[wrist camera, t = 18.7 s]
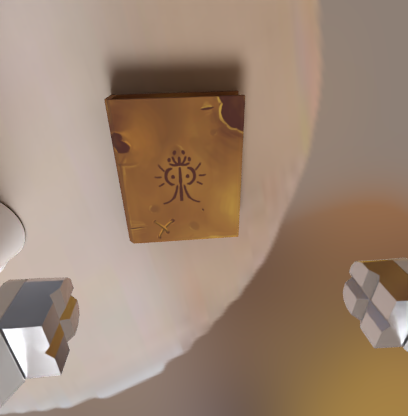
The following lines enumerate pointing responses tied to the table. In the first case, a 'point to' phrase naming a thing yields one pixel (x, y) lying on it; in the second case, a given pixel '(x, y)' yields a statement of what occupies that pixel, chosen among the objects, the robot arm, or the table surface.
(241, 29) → the table surface
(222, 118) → the diary
